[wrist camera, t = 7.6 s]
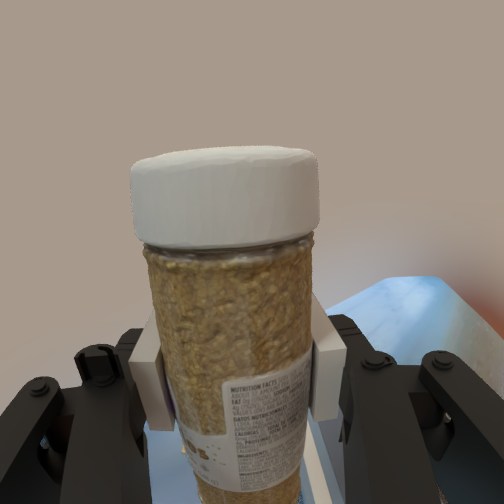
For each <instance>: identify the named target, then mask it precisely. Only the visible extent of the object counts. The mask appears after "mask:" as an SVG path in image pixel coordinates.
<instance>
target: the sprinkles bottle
mask: <svg viewBox="0 0 504 504" xmlns="http://www.w3.org/2000/svg"><path fill="white" fill-rule="evenodd" d="M130 189H131V203H132V213H133V221H134V229H135V234H136V236H137V237H138V239H139V240H140V241H143V242H144V250H143V256H144V257H145V258H146V260H147V263H148V274H149V280H150V288H151V291H152V298H153V306H154V310H155V318H156V325H157V329H158V333H159V338H160V343H161V350H162V353H163V363H164V369H165V375H166V379H167V383H168V387H169V392H170V396H171V400H172V404H173V408H174V412H175V416H176V420H177V423H178V427H179V430H180V433H181V437H182V441H183V444H184V448H185V451H186V454H187V458H188V461H189V463H190V465H191V467H192V468H193V472H194V475H195V478H196V480H197V487H198V494H199V498H200V500H201V502H202V504H296V503H297V501H298V498H299V495H300V491H301V479H300V476H299V475H300V466H301V460H302V458H303V455H304V448H305V439H306V429H307V419H308V408H309V395H310V380H311V363H312V342H313V337H312V332H311V306H312V298H311V297H312V254H311V250H312V247H313V245H314V240H313V235H314V232H313V231H312V230H314V229H315V228H316V227H317V225H318V224H319V220H320V219H319V181H318V165H317V159H316V157H315V155H314V154H313V153H312V152H310V151H308V150H305V149H297V148H285V147H281V146H232V147H215V148H203V149H194V150H186V151H178V152H171V153H166V154H161V155H159V156H156V157H151V158H146V159H142V160H139V161H137V162H136V163H135V164H134V165H133V166H132V168H131V170H130Z"/></svg>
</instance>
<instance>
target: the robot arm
mask: <svg viewBox="0 0 504 504" xmlns="http://www.w3.org/2000/svg"><path fill="white" fill-rule="evenodd" d="M311 298H312V306H311V332H312V337H313V342H312V363H311V380H310V395H309V409H310V412H311V415H312V418H313V422H319V421H325V420H331V419H337V416H338V410H339V407H340V409H341V411H342V414H343V421H342V426H341V432H340V437H339V442H343V458H344V477H345V504H441V499H440V495H439V492H438V488H437V484H438V486H439V488H440V489H441V491H442V493H443V494H444V496H445V498H446V499H447V501H448V503H449V504H504V400H503V399H502V398H501V397H500V396H499V395H498V394H497V393H496V392H495V391H494V390H493V389H492V388H491V387H490V386H489V385H488V384H486V383H485V382H484V381H483V380H482V379H481V378H480V377H479V376H478V375H477V374H476V373H475V372H474V371H473V370H472V369H471V368H470V367H469V366H468V365H467V364H465V363H464V362H463V361H462V360H461V359H460V358H459V357H458V356H456V355H455V354H453V353H450V352H447V351H439V350H438V351H431V352H429V353H427V354H425V356H424V357H423V358H422V362H421V365H397V363H396V361H395V359H394V358H393V357H392V356H390V355H389V354H387V353H384V352H380V351H375V350H374V348H373V347H372V346H371V344H370V343H369V341H368V340H367V339H366V337H365V336H364V335H363V334H362V332H361V331H360V329H359V328H358V326H357V325H356V324H355V322H354V321H353V320H352V319H350V318H349V317H347V316H345V315H343V314H340V315H331V316H327V315H326V313H325V311H324V310H323V308H322V307H321V305H320V303H319V302H318V300H317V299H316V297H315V295H314V294H313V292H312V297H311ZM74 360H75V363H76V365H77V368H78V370H79V373H80V376H81V379H82V381H83V382H82V386H79V387H74V388H66V389H61V388H60V386H59V384H58V382H57V381H56V380H55V379H54V378H51V377H37V378H34V379H33V380H31V381H29V382H27V383H26V385H24V386H23V388H22V389H21V390H20V391H19V392H18V394H17V395H16V397H15V398H14V399H13V400H12V402H11V403H10V404H9V405H8V407H7V408H6V409H5V411H4V412H3V413H2V415H1V416H0V504H152V496H151V487H150V476H149V464H148V449H147V438H146V435H145V432H144V430H143V428H144V425H145V421H146V420H147V423H148V425H149V428H150V430H156V431H174V425H175V420H176V416H175V412H174V408H173V404H172V400H171V396H170V392H169V387H168V383H167V379H166V375H165V369H164V363H163V353H162V350H161V343H160V338H159V333H158V329H157V325H156V318H155V310H154V309H153V311H152V313H151V315H150V317H149V319H148V321H147V323H146V325H145V327H144V328H140V329H130V330H128V331H127V332H126V333H124V334H123V335H122V336H121V338H120V339H119V341H118V344H117V345H116V346H115V347H114V346H111V345H108V344H97V345H91V346H88V347H86V348H83V349H82V350H80V351H79V352H78V353H77V354H76V356H75V357H74ZM446 412H447V414H448V415H449V416H450V417H451V420H449V419H448V418H447V417H446V416H445V414H446ZM43 437H44V438H45V440H46V443H45V445H44V446H43V447H42V446H41V445H40V442H41V440H42V439H43ZM436 483H437V484H436Z"/></svg>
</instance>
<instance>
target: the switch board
mask: <svg viewBox="0 0 504 504" xmlns="http://www.w3.org/2000/svg"><path fill="white" fill-rule="evenodd" d="M342 421H343V414H342V411H341V409H340V407H339V410H338V416H337V419H331V420H325V421H319V422H313V418H312V415H311V412H310V409H309V408H308V419H307V429H306V439H305V448H304V455H303V458H302V460H301V466H300V475H299V476H300V479H301V493H302V498H303V503H304V504H345V477H344V458H343V442H339V437H340V432H341V426H342ZM440 499H441V498H440ZM441 504H444V503H443V501H442V500H441Z"/></svg>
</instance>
